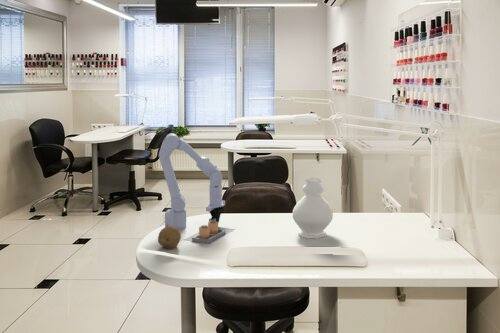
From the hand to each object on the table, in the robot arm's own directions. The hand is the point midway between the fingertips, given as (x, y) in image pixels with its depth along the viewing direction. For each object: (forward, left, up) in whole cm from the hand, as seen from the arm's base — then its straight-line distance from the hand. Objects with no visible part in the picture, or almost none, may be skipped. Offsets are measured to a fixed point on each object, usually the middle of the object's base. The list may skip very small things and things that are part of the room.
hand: (215, 223), depth 245 cm
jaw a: (+7, -22, -1) cm, 23 cm away
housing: (+5, -14, -2) cm, 15 cm away
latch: (0, -3, -1) cm, 3 cm away
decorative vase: (+44, +10, -2) cm, 45 cm away
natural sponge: (-1, -36, -2) cm, 37 cm away
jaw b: (+7, -14, -1) cm, 15 cm away
